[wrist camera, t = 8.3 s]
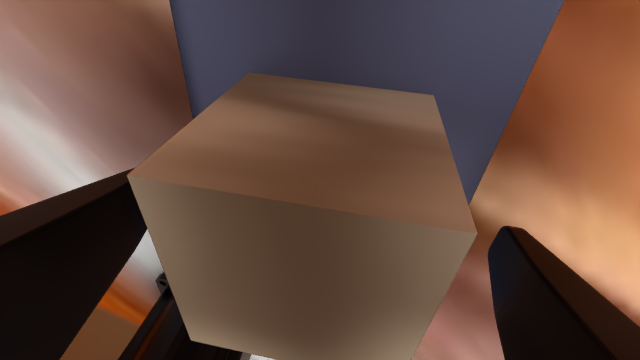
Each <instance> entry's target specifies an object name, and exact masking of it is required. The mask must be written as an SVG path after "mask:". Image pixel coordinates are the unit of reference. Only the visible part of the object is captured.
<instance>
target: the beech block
mask: <svg viewBox="0 0 640 360" xmlns="http://www.w3.org/2000/svg"><path fill="white" fill-rule="evenodd" d="M127 177H128V180H129V182H130V185H131V187H132V190H133V192H134V195H135V198H136V200H137V203H138V205H139V208H140V210H141V213H142V216H143V218H144V221H145V223H146V226H147V229H148V231H149V234H150V236H151V239H152V241H153V244H154V247H155V249H156V252H157V254H158V257H159V259H160V262H161V265H162V267H163V270H164V272H165V275H166V277H167V280H168V283H169V285H170V288H171V290H172V293H173V295H174V298H175V301H176V303H177V306H178V308H179V311H180V313H181V316H182V319H183V321H184V324H185V326H186V329H187V331H188V334H189V337H190V339H191V340H192V341H196V342H201V343H205V344H209V345H214V346H218V347H223V348H227V349H232V350H236V351H241V352H245V353H249V354H254V355H258V356H263V357H267V358H272V359H276V360H411V359H412V357H413V355H414V353H415V352H416V350H417V348H418V346H419V344H420V342H421V340H422V338H423V336H424V334H425V333H426V331H427V329H428V327H429V325H430V323H431V321H432V319H433V317H434V315H435V314H436V312H437V310H438V308H439V306H440V304H441V302H442V300H443V298H444V296H445V295H446V293H447V291H448V289H449V287H450V285H451V283H452V281H453V279H454V277H455V275H456V274H457V272H458V270H459V268H460V266H461V264H462V262H463V260H464V258H465V256H466V255H467V253H468V251H469V249H470V247H471V245H472V243H473V241H474V239H475V237H476V236H477V231H476V228H475V225H474V222H473V218H472V215H471V212H470V209H469V206H468V203H467V199H466V196H465V193H464V190H463V187H462V184H461V180H460V177H459V174H458V171H457V168H456V164H455V161H454V158H453V155H452V152H451V149H450V145H449V142H448V139H447V136H446V133H445V130H444V126H443V123H442V120H441V117H440V114H439V110H438V107H437V104H436V101H435V98H434V95H428V94H420V93H412V92H404V91H396V90H388V89H379V88H371V87H363V86H355V85H347V84H338V83H330V82H322V81H314V80H306V79H298V78H289V77H281V76H273V75H265V74H257V73H248V74H247V75H246V76H244V77H243V78H242V79H241V80H240V81H238V82H237V83H236V84H235V85H234V86H232V87H231V88H230V89H229V90H228V91H226V92H225V93H224V94H223V95H222V96H221V97H219V98H218V99H217V100H216V101H215V102H213V103H212V104H211V105H210V106H209V107H207V108H206V109H205V110H204V111H203V112H201V113H200V114H199V115H198V116H197V117H195V118H194V119H193V120H192V121H191V122H190V123H188V124H187V125H186V126H185V127H184V128H182V129H181V130H180V131H179V132H178V133H176V134H175V135H174V136H173V137H172V138H170V139H169V140H168V141H167V142H166V143H165V144H163V145H162V146H161V147H160V148H159V149H157V150H156V151H155V152H154V153H153V154H151V155H150V156H149V157H148V158H147V159H145V160H144V161H143V162H142V163H141V164H140V165H138V166H137V167H136V168H135V169H134V170H132V171H131V172H130V173H129V174H128V175H127Z"/></svg>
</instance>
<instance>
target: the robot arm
mask: <svg viewBox="0 0 640 360" xmlns="http://www.w3.org/2000/svg"><path fill="white" fill-rule="evenodd" d="M134 169H135V168H133V169H130V170H127V171H124V172H122V173H119V174H116V175H113V176H110V177H108V178H105V179H102V180H99V181H96V182H94V183H91V184H88V185H85V186H82V187H80V188H77V189H74V190H71V191H68V192H66V193H63V194H60V195H57V196H54V197H52V198H49V199H46V200H43V201H40V202H38V203H35V204H32V205H29V206H26V207H23V208H21V209H18V210H15V211H12V212H9V213H7V214H4V215H1V216H0V360H60V358H61V357H62V355H63V354H64V352H65V351H66V349H67V348H68V347H69V345H70V344H71V342H72V341H73V339H74V338H75V336H76V335H77V334H78V332H79V331H80V329H81V328H82V326H83V325H84V323H85V322H86V320H87V319H88V317H89V316H90V315H91V313H92V312H93V310H94V309H95V307H96V306H97V305H98V303H99V302H100V300H101V299H102V297H103V296H104V294H105V293H106V291H107V290H108V289H109V287H110V286H111V284H112V283H113V281H114V280H115V278H116V277H117V275H118V274H119V273H120V271H121V270H122V268H123V267H124V265H125V264H126V262H127V261H128V260H129V258H130V257H131V255H132V254H133V252H134V251H135V249H136V248H137V246H138V244H139V243H140V241H141V239H142V237H143V235H144V234H145V232H146V230H147V226H146V223H145V221H144V218H143V216H142V213H141V210H140V208H139V205H138V203H137V200H136V198H135V195H134V192H133V190H132V187H131V185H130V182H129V180H128V177H127V175H128V174H129V173H130V172H131V171H132V170H134ZM488 263H489V272H490V281H491V289H492V298H493V307H494V314H495V319H496V324H497V328H498V333H499V337H500V341H501V345H502V350H503V354H504V358H505V360H640V326H638V325H637V324H636V323H635V322H634V321H632V320H631V319H630V318H629V317H628V316H626V315H625V314H624V313H623V312H622V311H621V310H619V309H618V308H617V307H616V306H615V305H613V304H612V303H611V302H610V301H609V300H607V299H606V298H605V297H604V296H603V295H602V294H600V293H599V292H598V291H597V290H596V289H594V288H593V287H592V286H591V285H590V284H588V283H587V282H586V281H585V280H584V279H582V278H581V277H580V276H579V275H578V274H577V273H575V272H574V271H573V270H572V269H571V268H569V267H568V266H567V265H566V264H565V263H563V262H562V261H561V260H560V259H559V258H558V257H556V256H555V255H554V254H553V253H552V252H550V251H549V250H548V249H547V248H546V247H544V246H543V245H542V244H541V243H540V242H539V241H537V240H536V239H535V238H534V237H533V236H531V235H530V234H529V233H528V232H527V231H525V230H524V229H522V228H518V227H512V226H503V227H502V228H501V229H500V230H499V232H498V234H497V235H496V237H495V239H494V241H493V242H492V244H491V246H490V248H489V251H488ZM156 283H157V286H158V288H159V290H160V293H161V296H160V297H159V299H158V300H157V302H156V303H155V305H154V306H153V308H152V309H151V311H150V312H149V314H148V315H147V317H146V318H145V320H144V321H143V323H142V324H141V326H140V327H139V329H138V330H137V332H136V333H135V335H134V336H133V338H132V339H131V341H130V342H129V344H128V345H127V347H126V348H125V350H124V351H123V353H122V354H121V356H120V357H119V359H118V360H249V359H250V356H251V354H249V353H245V352H241V351H236V350H232V349H227V348H223V347H218V346H214V345H209V344H205V343H201V342H196V341H192V340H191V339H190V337H189V334H188V331H187V329H186V326H185V324H184V321H183V319H182V316H181V313H180V311H179V308H178V306H177V303H176V301H175V298H174V295H173V293H172V290H171V288H170V285H169V283H168V280H167V277H166V275H165V274H160V275H159V276H158V278H157V279H156Z"/></svg>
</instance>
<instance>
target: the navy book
mask: <svg viewBox="0 0 640 360" xmlns="http://www.w3.org/2000/svg"><path fill="white" fill-rule="evenodd" d="M169 1H170V6H171V11H172V16H173V21H174V26H175V31H176V36H177V41H178V46H179V51H180V56H181V61H182V66H183V71H184V76H185V81H186V86H187V91H188V96H189V100H190V105H191V110H192V115H193V119H194V118H195V117H197V116H198V115H199V114H200V113H201V112H203V111H204V110H205V109H206V108H207V107H209V106H210V105H211V104H212V103H213V102H215V101H216V100H217V99H218V98H219V97H221V96H222V95H223V94H224V93H225V92H226V91H228V90H229V89H230V88H231V87H232V86H234V85H235V84H236V83H237V82H238V81H240V80H241V79H242V78H243V77H244V76H246V75H247V74H248V73H257V74H265V75H273V76H281V77H289V78H298V79H306V80H314V81H322V82H330V83H338V84H347V85H355V86H363V87H371V88H379V89H388V90H396V91H404V92H412V93H420V94H428V95H434V98H435V101H436V104H437V107H438V110H439V114H440V117H441V120H442V123H443V126H444V130H445V133H446V136H447V139H448V142H449V145H450V149H451V152H452V155H453V158H454V161H455V164H456V168H457V171H458V174H459V177H460V180H461V184H462V187H463V190H464V193H465V196H466V199H467V203H468V206H469V204H470V202H471V200H472V197H473V195H474V193H475V191H476V189H477V187H478V185H479V182H480V180H481V178H482V176H483V174H484V172H485V170H486V167H487V165H488V163H489V161H490V159H491V157H492V155H493V152H494V150H495V148H496V146H497V144H498V142H499V140H500V137H501V135H502V133H503V131H504V129H505V127H506V125H507V122H508V120H509V118H510V116H511V114H512V112H513V110H514V107H515V105H516V103H517V101H518V99H519V97H520V94H521V92H522V90H523V88H524V86H525V84H526V82H527V79H528V77H529V75H530V73H531V71H532V69H533V67H534V64H535V62H536V60H537V58H538V56H539V54H540V52H541V49H542V47H543V45H544V43H545V41H546V39H547V37H548V34H549V32H550V30H551V28H552V26H553V24H554V22H555V19H556V17H557V15H558V13H559V11H560V9H561V7H562V4H563V2H564V0H169Z"/></svg>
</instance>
